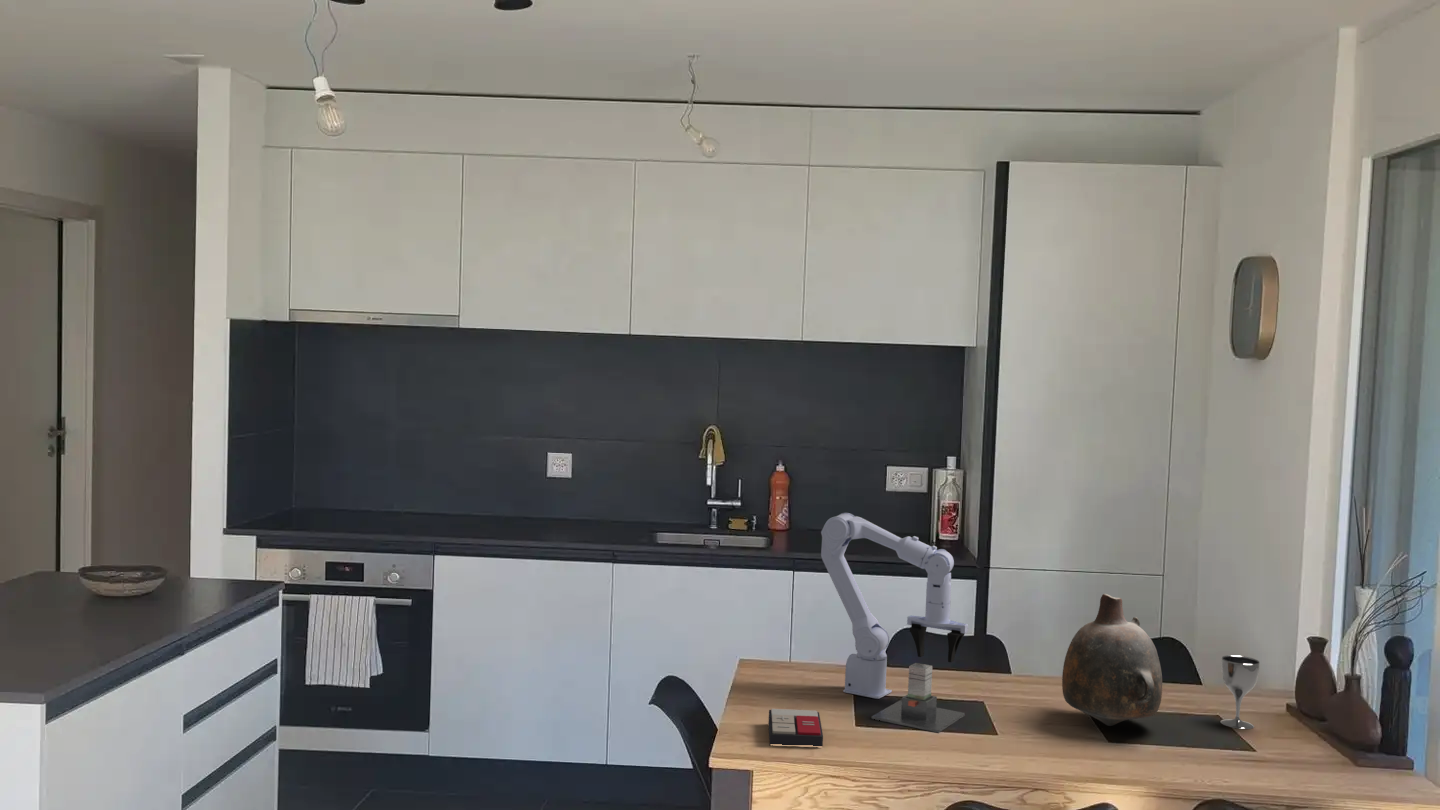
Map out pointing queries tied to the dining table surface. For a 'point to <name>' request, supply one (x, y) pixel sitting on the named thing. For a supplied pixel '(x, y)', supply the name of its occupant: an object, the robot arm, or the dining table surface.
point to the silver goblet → (1239, 683)
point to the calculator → (795, 727)
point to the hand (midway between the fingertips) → (935, 658)
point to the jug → (1112, 668)
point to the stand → (919, 714)
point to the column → (920, 682)
